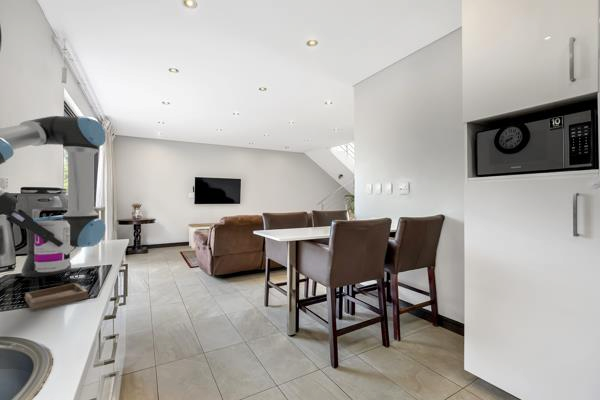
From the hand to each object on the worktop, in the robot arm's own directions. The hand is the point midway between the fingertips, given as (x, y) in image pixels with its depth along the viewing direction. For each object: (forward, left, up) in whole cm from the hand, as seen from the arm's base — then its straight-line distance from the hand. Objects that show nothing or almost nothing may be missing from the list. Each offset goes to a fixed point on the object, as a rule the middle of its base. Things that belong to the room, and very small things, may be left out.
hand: (66, 249), depth 88 cm
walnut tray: (+1, -3, -15) cm, 15 cm away
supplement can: (0, -3, -6) cm, 7 cm away
